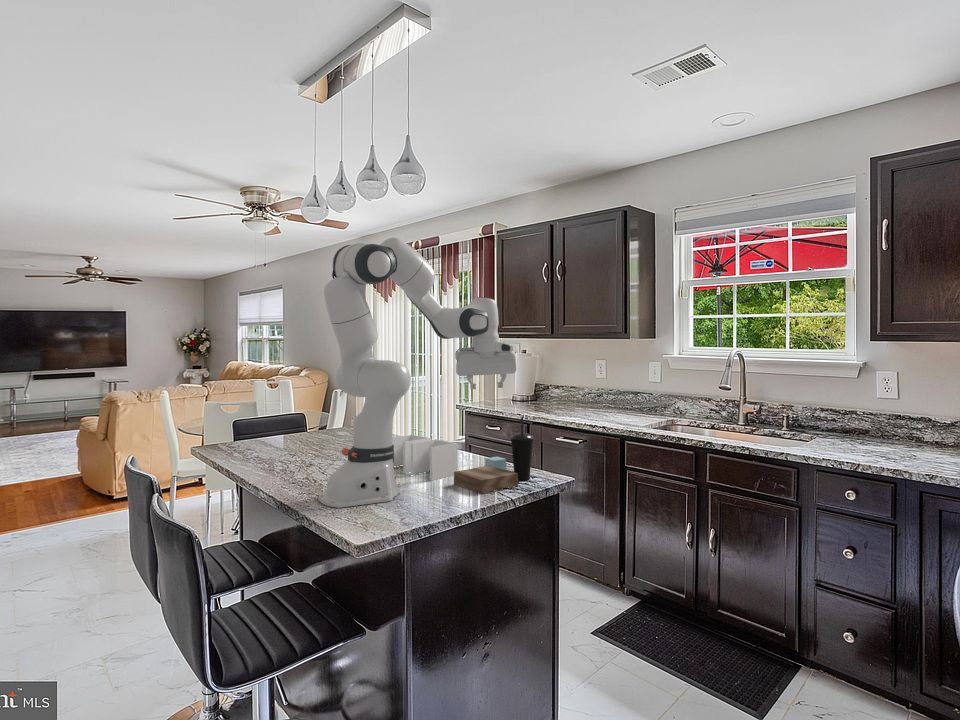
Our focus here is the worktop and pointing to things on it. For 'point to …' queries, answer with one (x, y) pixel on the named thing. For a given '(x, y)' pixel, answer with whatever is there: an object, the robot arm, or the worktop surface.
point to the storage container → (425, 456)
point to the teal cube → (496, 462)
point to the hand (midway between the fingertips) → (486, 388)
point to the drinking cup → (522, 453)
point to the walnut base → (485, 479)
